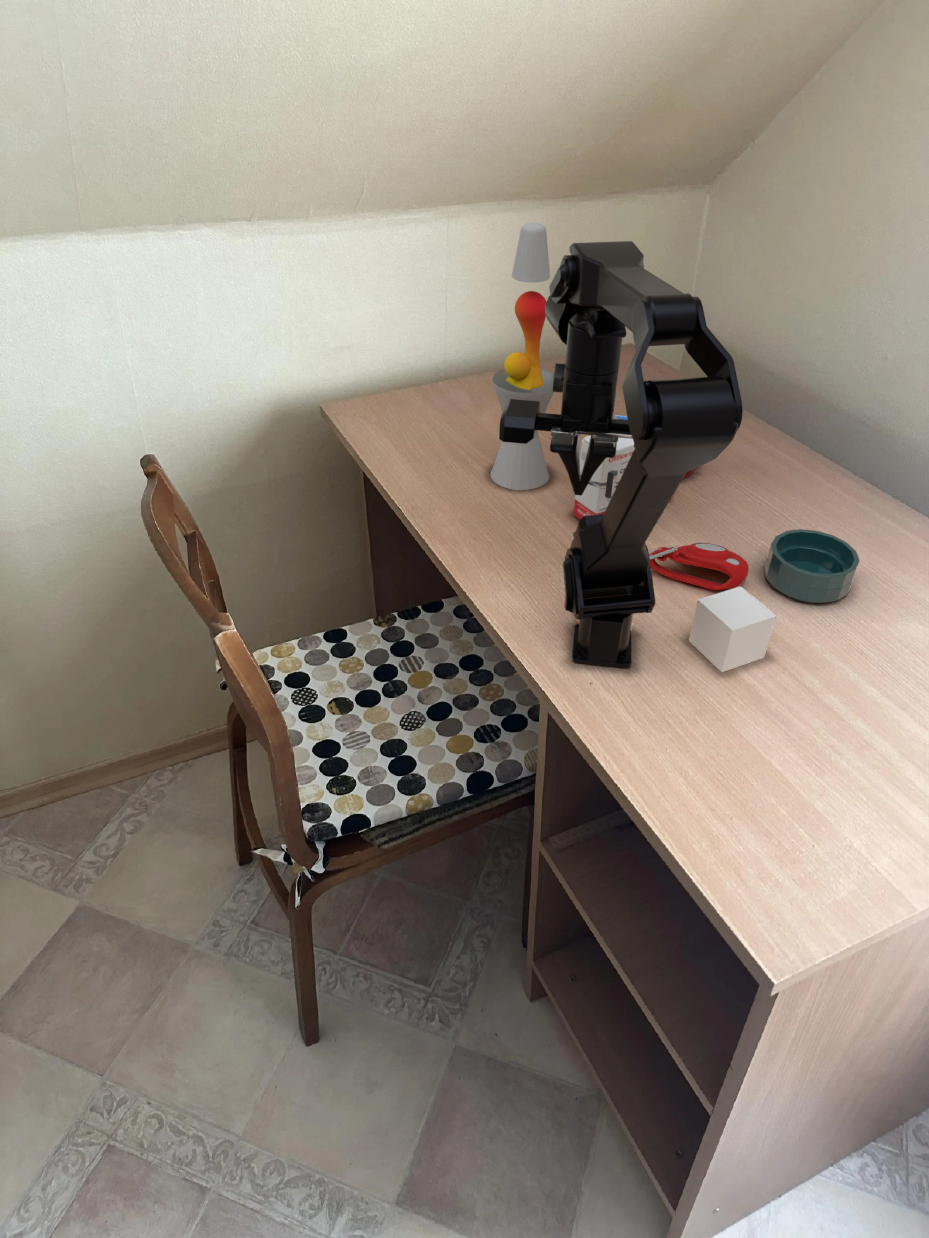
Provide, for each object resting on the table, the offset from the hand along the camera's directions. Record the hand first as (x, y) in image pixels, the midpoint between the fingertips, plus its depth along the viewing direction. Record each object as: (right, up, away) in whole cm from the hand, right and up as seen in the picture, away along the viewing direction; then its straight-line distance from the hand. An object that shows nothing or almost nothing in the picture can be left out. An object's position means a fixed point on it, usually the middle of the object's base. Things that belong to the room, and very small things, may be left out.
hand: (578, 493), depth 105 cm
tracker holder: (+16, -9, +9) cm, 20 cm away
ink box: (+6, 0, +19) cm, 20 cm away
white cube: (+16, -18, -3) cm, 25 cm away
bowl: (+29, -10, +7) cm, 32 cm away
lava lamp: (-5, +6, +28) cm, 29 cm away
